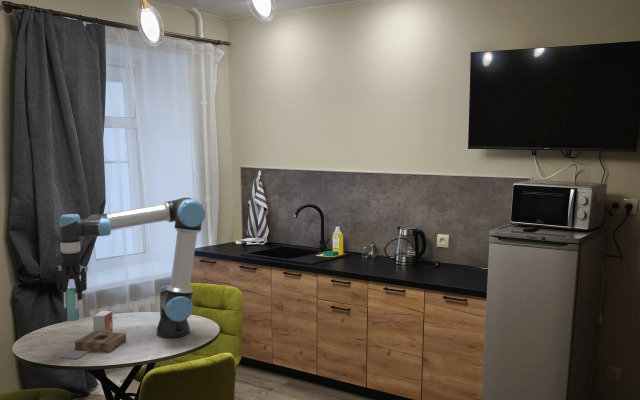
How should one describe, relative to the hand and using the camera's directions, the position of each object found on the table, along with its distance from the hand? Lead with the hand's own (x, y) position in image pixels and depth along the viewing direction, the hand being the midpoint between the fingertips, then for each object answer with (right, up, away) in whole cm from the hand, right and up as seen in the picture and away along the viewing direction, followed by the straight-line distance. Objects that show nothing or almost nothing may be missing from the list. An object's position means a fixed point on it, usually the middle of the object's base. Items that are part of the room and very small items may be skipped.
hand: (72, 307), depth 233 cm
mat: (0, -21, +2) cm, 21 cm away
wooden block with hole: (+7, -20, +13) cm, 24 cm away
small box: (+2, -19, +28) cm, 33 cm away
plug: (0, -5, +1) cm, 5 cm away
